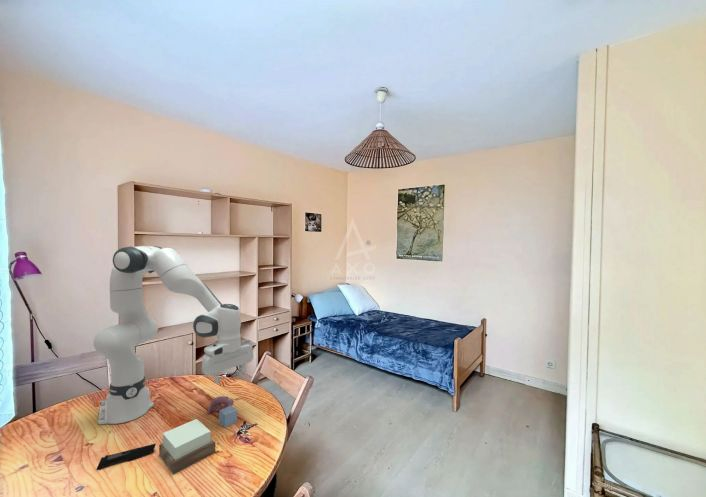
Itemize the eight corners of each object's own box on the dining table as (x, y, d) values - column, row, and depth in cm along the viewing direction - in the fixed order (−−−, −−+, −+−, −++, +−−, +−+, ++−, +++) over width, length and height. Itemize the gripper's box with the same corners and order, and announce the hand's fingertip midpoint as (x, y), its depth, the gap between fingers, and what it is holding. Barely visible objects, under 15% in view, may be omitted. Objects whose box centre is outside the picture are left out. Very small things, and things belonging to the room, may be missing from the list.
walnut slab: (159, 456, 99) (159, 444, 99) (199, 437, 109) (199, 426, 109) (173, 476, 90) (173, 463, 90) (215, 453, 100) (215, 442, 100)
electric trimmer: (155, 455, 99) (155, 446, 99) (95, 472, 91) (96, 461, 91) (156, 449, 102) (156, 440, 102) (98, 464, 95) (99, 454, 95)
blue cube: (219, 422, 117) (219, 410, 117) (230, 417, 121) (231, 405, 121) (224, 427, 114) (225, 415, 114) (236, 422, 118) (237, 409, 118)
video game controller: (232, 415, 125) (236, 396, 129) (227, 415, 121) (231, 397, 124) (210, 413, 126) (215, 395, 129) (205, 414, 122) (209, 395, 125)
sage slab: (162, 445, 98) (162, 433, 98) (196, 429, 107) (196, 418, 107) (175, 460, 92) (175, 448, 92) (210, 442, 100) (210, 431, 100)
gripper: (248, 337, 128) (248, 368, 128) (199, 349, 112) (199, 385, 112) (256, 340, 124) (256, 372, 124) (207, 353, 108) (207, 390, 108)
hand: (228, 378), depth 118 cm, fingers open, 8 cm apart
